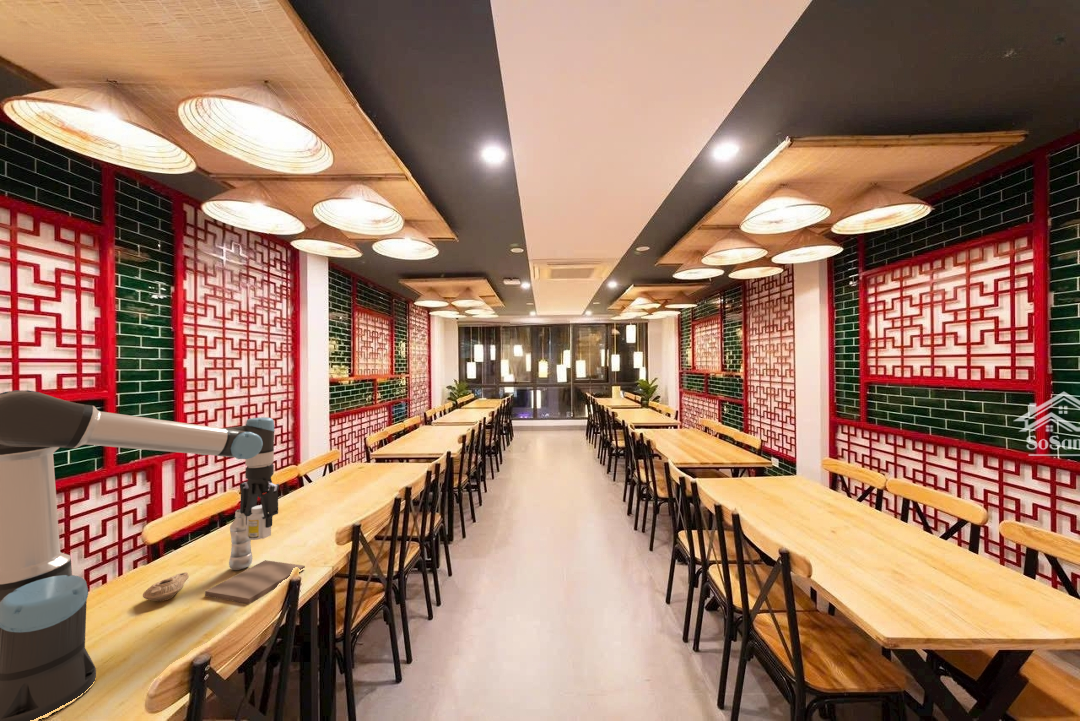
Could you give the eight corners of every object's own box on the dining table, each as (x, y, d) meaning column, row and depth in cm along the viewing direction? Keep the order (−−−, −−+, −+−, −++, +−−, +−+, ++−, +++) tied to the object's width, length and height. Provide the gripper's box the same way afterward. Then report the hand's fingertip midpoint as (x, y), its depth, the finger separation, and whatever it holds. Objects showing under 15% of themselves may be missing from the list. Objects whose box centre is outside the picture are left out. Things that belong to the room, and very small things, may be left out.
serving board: (249, 603, 114) (249, 598, 114) (204, 596, 118) (205, 591, 118) (304, 570, 134) (304, 565, 134) (265, 564, 137) (265, 560, 137)
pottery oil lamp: (200, 581, 126) (202, 565, 124) (164, 615, 114) (165, 599, 112) (174, 572, 125) (175, 556, 123) (135, 606, 114) (135, 589, 112)
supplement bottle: (267, 531, 130) (268, 502, 130) (269, 537, 126) (270, 507, 126) (247, 536, 126) (248, 506, 126) (249, 542, 122) (249, 511, 122)
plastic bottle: (239, 573, 131) (241, 514, 132) (223, 571, 132) (225, 513, 133) (257, 564, 137) (258, 508, 138) (241, 562, 139) (242, 506, 139)
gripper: (292, 463, 128) (291, 534, 128) (248, 460, 132) (247, 528, 132) (272, 469, 121) (271, 544, 120) (226, 466, 125) (225, 538, 124)
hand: (258, 535), depth 126 cm, fingers closed on supplement bottle, 5 cm apart
